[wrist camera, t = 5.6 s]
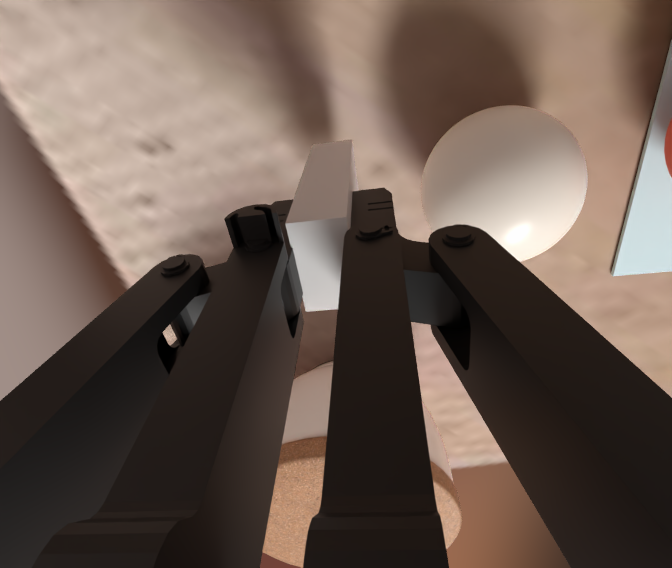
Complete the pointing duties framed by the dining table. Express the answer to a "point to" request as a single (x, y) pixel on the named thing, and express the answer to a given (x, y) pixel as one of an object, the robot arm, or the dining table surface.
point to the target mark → (650, 197)
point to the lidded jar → (308, 469)
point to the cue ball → (507, 178)
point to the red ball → (668, 148)
